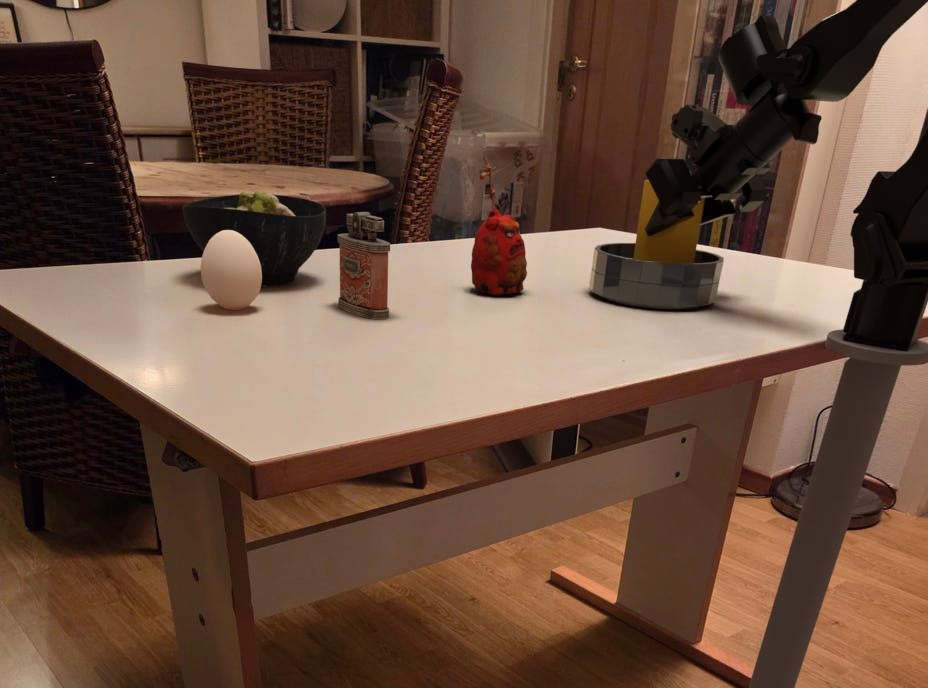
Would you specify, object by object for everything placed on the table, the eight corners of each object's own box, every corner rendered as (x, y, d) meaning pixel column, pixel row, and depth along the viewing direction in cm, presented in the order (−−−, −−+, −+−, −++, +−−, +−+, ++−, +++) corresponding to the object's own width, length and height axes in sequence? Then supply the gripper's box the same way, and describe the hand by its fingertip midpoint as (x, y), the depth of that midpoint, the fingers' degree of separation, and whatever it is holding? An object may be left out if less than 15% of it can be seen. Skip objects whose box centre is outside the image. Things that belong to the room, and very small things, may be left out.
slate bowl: (731, 299, 115) (741, 255, 112) (687, 318, 103) (696, 268, 100) (620, 281, 122) (626, 239, 119) (567, 296, 111) (573, 250, 108)
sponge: (688, 290, 113) (708, 183, 107) (665, 294, 111) (683, 184, 104) (652, 283, 117) (668, 179, 111) (629, 286, 114) (644, 180, 108)
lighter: (331, 305, 99) (330, 208, 93) (356, 303, 100) (356, 207, 95) (370, 320, 93) (370, 218, 88) (396, 317, 95) (398, 217, 90)
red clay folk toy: (507, 300, 107) (519, 162, 98) (457, 292, 109) (465, 157, 101) (532, 291, 112) (545, 160, 104) (484, 284, 115) (493, 155, 107)
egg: (192, 307, 94) (184, 227, 90) (240, 300, 98) (234, 224, 94) (227, 318, 90) (221, 236, 86) (275, 311, 95) (271, 232, 90)
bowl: (164, 285, 103) (153, 192, 98) (226, 264, 117) (219, 181, 112) (299, 299, 100) (295, 204, 95) (345, 275, 114) (344, 191, 109)
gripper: (767, 83, 104) (675, 177, 117) (675, 74, 94) (584, 178, 106) (809, 163, 104) (711, 248, 116) (720, 163, 93) (624, 257, 106)
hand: (659, 232), depth 111 cm, fingers closed on sponge, 5 cm apart
